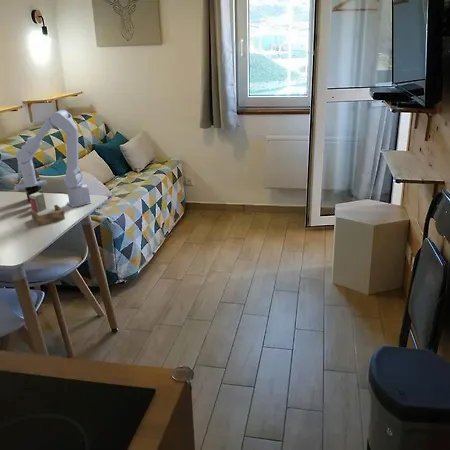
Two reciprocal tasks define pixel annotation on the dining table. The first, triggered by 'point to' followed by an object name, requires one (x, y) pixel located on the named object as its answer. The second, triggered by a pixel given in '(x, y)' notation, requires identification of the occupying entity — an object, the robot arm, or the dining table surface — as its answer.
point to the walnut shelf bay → (48, 216)
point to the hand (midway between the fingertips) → (34, 201)
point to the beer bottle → (37, 186)
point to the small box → (37, 201)
